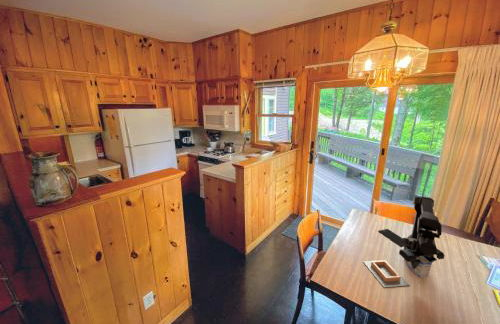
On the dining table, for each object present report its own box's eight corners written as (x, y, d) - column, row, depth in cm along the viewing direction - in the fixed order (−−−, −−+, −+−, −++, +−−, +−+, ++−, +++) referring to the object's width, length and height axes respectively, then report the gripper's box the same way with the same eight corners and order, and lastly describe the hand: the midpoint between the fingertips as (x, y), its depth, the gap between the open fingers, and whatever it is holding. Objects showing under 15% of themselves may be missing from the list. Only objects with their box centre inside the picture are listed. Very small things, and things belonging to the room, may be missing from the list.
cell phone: (387, 229, 153) (387, 228, 153) (411, 245, 136) (411, 243, 136) (377, 231, 151) (378, 230, 150) (400, 247, 134) (401, 246, 134)
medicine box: (406, 266, 106) (409, 252, 103) (414, 265, 106) (417, 251, 104) (420, 278, 98) (423, 263, 96) (428, 277, 99) (432, 262, 96)
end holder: (385, 260, 123) (386, 256, 122) (409, 285, 106) (410, 281, 105) (362, 261, 122) (363, 257, 121) (383, 287, 105) (384, 283, 104)
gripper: (427, 230, 106) (420, 255, 110) (393, 232, 104) (388, 257, 109) (448, 244, 95) (441, 271, 99) (411, 247, 94) (405, 274, 98)
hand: (417, 268), depth 102 cm, fingers closed on medicine box, 4 cm apart
